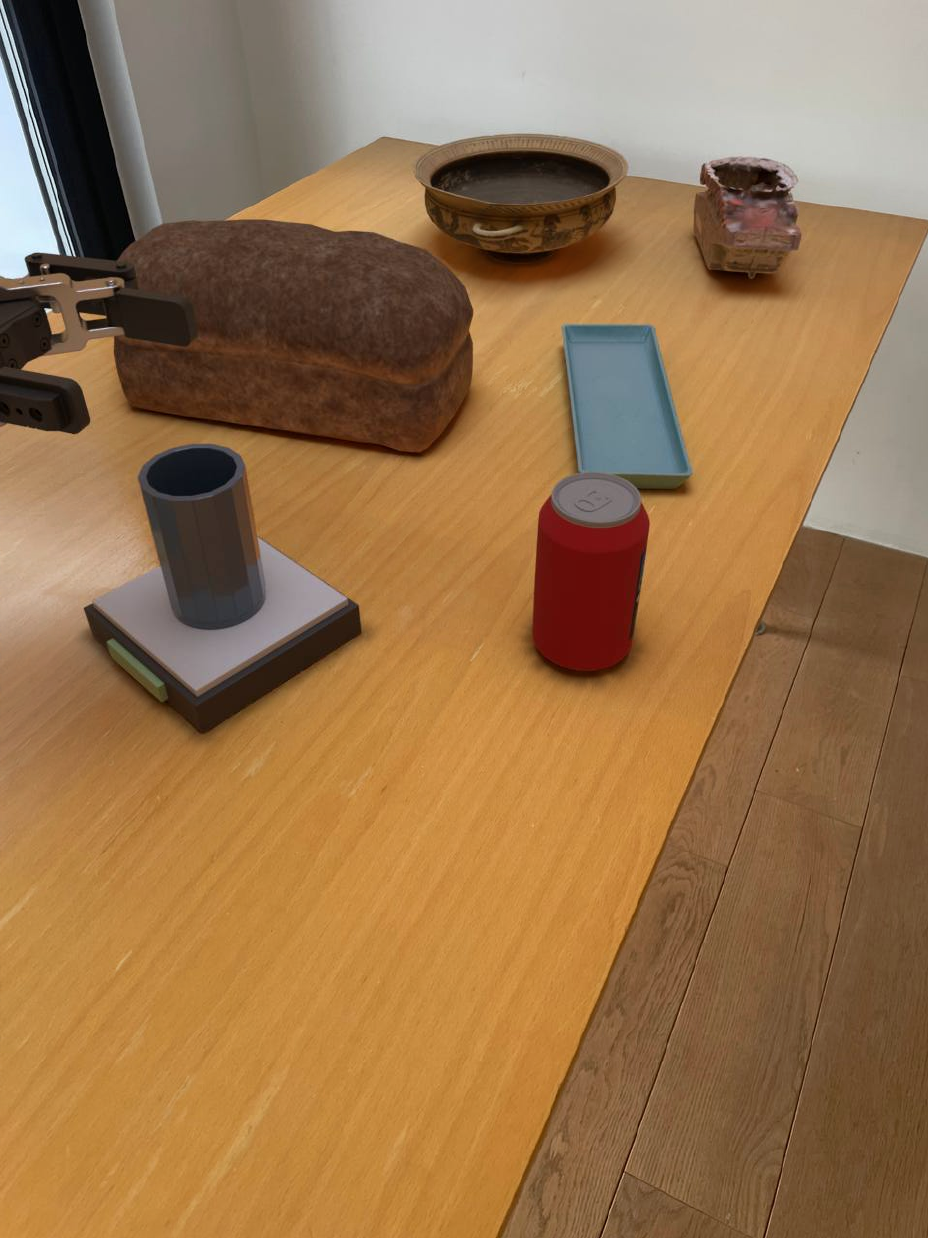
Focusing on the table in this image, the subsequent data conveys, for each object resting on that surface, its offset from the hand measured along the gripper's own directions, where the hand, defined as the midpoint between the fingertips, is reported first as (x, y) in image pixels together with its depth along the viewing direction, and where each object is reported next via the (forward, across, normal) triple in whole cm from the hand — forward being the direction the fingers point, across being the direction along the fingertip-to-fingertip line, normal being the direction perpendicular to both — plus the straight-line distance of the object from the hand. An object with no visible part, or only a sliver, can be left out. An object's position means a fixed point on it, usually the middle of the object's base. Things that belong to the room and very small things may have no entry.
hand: (140, 362), depth 44 cm
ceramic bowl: (-7, +80, +25) cm, 84 cm away
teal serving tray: (+13, +47, +25) cm, 55 cm away
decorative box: (+20, +85, +25) cm, 91 cm away
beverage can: (+18, +16, +26) cm, 35 cm away
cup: (-6, +9, +22) cm, 25 cm away
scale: (-6, +9, +25) cm, 27 cm away
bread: (-15, +40, +25) cm, 50 cm away
